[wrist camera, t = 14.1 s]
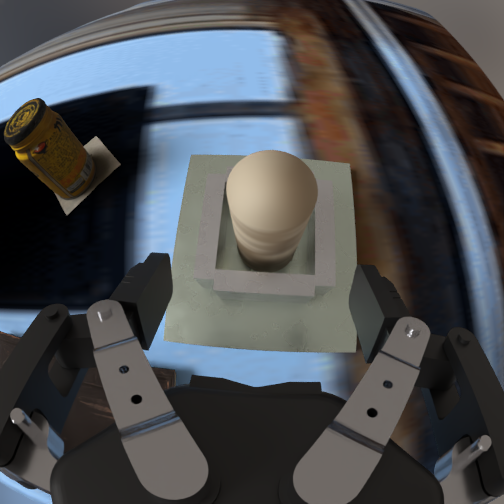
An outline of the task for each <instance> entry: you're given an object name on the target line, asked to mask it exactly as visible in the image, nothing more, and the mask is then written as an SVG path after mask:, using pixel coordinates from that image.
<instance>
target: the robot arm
mask: <svg viewBox="0 0 504 504" xmlns="http://www.w3.org/2000/svg"><path fill="white" fill-rule="evenodd" d="M172 294H173V280H172V272H171V264H170V257H169V254H168V253H153V252H152V253H150V255H149V256H148V257H147V259H146V260H145V262H144V263H138V264H137V265H135V266H134V267H132V268H131V269H130V270H129V272H128V273H127V274H126V277H124V279H123V280H122V283H120V284H119V286H118V287H117V288H116V290H115V291H114V293H113V294H112V295H111V297H110V298H109V300H103V301H99V302H97V303H95V304H93V305H92V306H91V307H90V308H89V309H88V311H87V314H78V315H70V314H69V311H68V309H67V307H66V306H65V305H62V304H53V305H50V306H47V307H46V308H44V309H43V310H42V311H41V312H40V313H39V314H38V315H37V317H36V318H35V320H34V321H33V322H32V324H31V325H30V326H29V328H28V329H27V331H26V332H25V333H24V335H23V336H22V338H21V339H20V340H19V342H18V343H17V345H16V346H15V348H14V349H13V351H12V352H11V354H10V355H9V357H8V358H7V360H6V362H5V363H4V365H3V366H2V368H1V369H0V471H1V472H2V473H3V474H5V475H6V476H8V477H9V478H10V479H12V480H15V481H16V482H18V483H19V484H21V485H22V486H24V487H26V488H28V489H37V488H38V489H40V490H42V491H44V492H46V493H48V494H50V495H51V498H52V503H53V504H488V503H489V502H491V501H493V500H495V499H496V498H498V497H500V496H501V495H503V494H504V391H503V389H502V387H501V385H500V383H499V381H498V379H497V377H496V375H495V373H494V371H493V369H492V367H491V365H490V363H489V361H488V359H487V357H486V355H485V353H484V351H483V349H482V348H481V346H480V344H479V342H478V340H477V339H476V337H475V336H474V335H473V334H472V333H471V332H470V331H468V330H466V329H464V328H460V327H455V328H452V329H451V330H450V331H449V333H448V335H447V337H444V336H439V335H434V334H430V330H429V328H428V326H427V325H426V324H425V323H424V322H422V321H421V320H419V319H417V318H413V317H411V315H410V314H409V312H408V310H407V308H406V306H405V304H404V303H403V301H402V299H401V297H400V295H399V294H398V293H397V290H396V288H395V287H394V285H393V283H391V282H390V281H389V280H388V279H387V278H385V277H381V275H380V274H379V272H378V270H377V268H376V267H375V266H374V265H357V267H356V269H355V274H354V278H353V282H352V286H351V290H350V294H349V309H350V312H351V316H352V319H353V322H354V325H355V328H356V331H357V335H358V338H359V341H360V344H361V348H362V351H363V355H364V358H365V361H366V363H372V364H371V366H370V367H369V369H368V371H367V372H366V374H365V375H364V377H363V378H362V380H361V382H360V383H359V385H358V386H357V388H356V389H355V391H354V392H353V394H352V395H351V397H350V398H349V400H348V401H346V400H344V399H342V398H340V397H338V396H336V395H333V394H330V393H327V392H323V391H321V383H320V382H286V383H281V384H275V385H269V386H263V387H252V386H248V385H245V384H241V383H238V382H234V381H231V380H227V379H224V378H216V377H206V376H198V375H192V377H191V380H190V384H184V385H178V386H174V387H171V388H168V389H166V390H164V391H163V390H162V388H161V386H160V384H159V382H158V380H157V378H156V376H155V374H154V372H153V370H152V368H151V366H150V364H149V362H148V360H147V358H146V356H145V354H144V352H143V350H149V348H150V346H151V343H152V341H153V339H154V336H155V334H156V332H157V329H158V327H159V325H160V322H161V320H162V318H163V316H164V313H165V311H166V309H167V307H168V304H169V302H170V300H171V298H172ZM142 349H143V350H142ZM54 355H55V357H56V360H55V362H54V364H53V366H52V368H51V369H50V371H49V373H48V367H49V364H50V362H51V360H52V359H53V357H54ZM95 367H97V368H98V371H99V375H100V378H101V381H102V384H103V388H104V391H105V394H106V397H107V400H108V403H109V405H110V408H111V411H112V414H113V416H114V419H115V423H113V424H111V425H110V426H108V427H107V428H105V429H104V430H102V431H100V432H99V433H97V434H96V435H94V436H92V437H91V438H89V439H88V440H86V441H84V442H83V443H81V444H79V445H78V446H76V447H75V448H73V449H71V450H70V451H68V452H66V453H65V454H64V453H63V451H64V442H63V439H62V437H61V436H60V435H61V432H62V430H63V427H64V424H65V422H66V419H67V417H68V414H69V412H70V410H71V407H72V405H73V402H74V400H75V398H76V395H77V393H78V391H79V389H80V386H81V384H82V382H83V380H84V377H85V375H86V373H87V371H88V369H89V368H95ZM456 380H457V381H458V383H459V386H460V389H461V397H459V395H458V392H457V389H456V387H455V384H454V383H455V381H456ZM414 386H416V387H421V390H422V393H423V396H424V399H425V403H426V406H427V410H428V413H429V417H430V421H431V424H432V428H433V432H434V436H435V440H436V444H437V448H438V453H439V457H440V458H439V459H438V461H437V463H436V465H435V474H434V475H433V474H432V473H431V472H430V471H429V470H427V469H426V468H425V467H424V466H422V465H421V464H420V463H419V462H417V461H416V460H415V459H414V458H413V457H411V456H410V455H409V454H408V453H407V452H405V451H404V450H403V449H402V448H401V447H400V446H398V445H397V444H396V443H395V442H394V441H392V440H391V439H390V436H391V434H392V432H393V430H394V428H395V426H396V424H397V422H398V420H399V418H400V416H401V414H402V412H403V410H404V407H405V405H406V403H407V401H408V399H409V396H410V394H411V392H412V389H413V387H414Z"/></svg>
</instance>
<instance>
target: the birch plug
mask: <svg viewBox="0 0 504 504" xmlns="http://www.w3.org/2000/svg"><path fill="white" fill-rule="evenodd" d="M226 192H227V198H228V204H229V209H230V214H231V219H232V224H233V228H234V233H235V238H236V243H237V248H238V252H239V255H240V257H241V259H242V260H243V262H244V263H245V264H246V265H247V266H248V267H250V268H251V269H253V270H256V271H258V272H268V273H270V272H275V271H278V270H280V269H282V268H284V267H285V266H286V265H287V264H288V263H289V262H290V261H291V260H292V258H293V256H294V254H295V251H296V249H297V247H298V244H299V242H300V240H301V238H302V235H303V233H304V231H305V228H306V226H307V224H308V221H309V219H310V216H311V214H312V212H313V209H314V207H315V204H316V202H317V197H318V186H317V182H316V179H315V176H314V174H313V173H312V171H311V170H310V168H309V167H308V166H307V165H306V164H305V163H304V162H303V161H302V160H300V159H299V158H297V157H296V156H294V155H291V154H289V153H286V152H282V151H276V150H265V151H259V152H256V153H253V154H250V155H248V156H246V157H245V158H243V159H242V160H240V161H239V162H238V163H237V164H236V165H235V166H234V168H233V169H232V171H231V173H230V174H229V177H228V180H227V186H226Z"/></svg>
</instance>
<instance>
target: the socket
mask: <svg viewBox="0 0 504 504" xmlns="http://www.w3.org/2000/svg"><path fill="white" fill-rule="evenodd" d="M245 157H246V156H241V155H191V158H190V163H189V168H188V173H187V178H186V183H185V188H184V194H183V199H182V205H181V210H180V216H179V222H178V228H177V234H176V241H175V247H174V254H173V261H172V269H171V272H172V280H173V294H172V298H171V300H170V302H169V304H168V307H167V310H166V320H165V330H164V341H170V342H178V343H186V344H194V345H203V346H213V347H224V348H235V349H249V350H265V351H286V352H356V339H357V331H356V328H355V325H354V322H353V319H352V316H351V312H350V309H349V294H350V290H351V286H352V282H353V278H354V274H355V269H356V267H357V253H356V231H355V216H354V202H353V191H352V180H351V171H350V164H347V163H338V162H329V161H319V160H308V159H300V160H302V161H303V162H304V163H305V164H306V165H307V166H308V167H309V168H310V170H311V171H312V173H313V174H314V176H315V179H316V182H317V186H318V197H317V202H316V204H315V207H314V209H313V212H312V214H311V216H310V219H309V221H308V224H307V226H306V228H305V231H304V233H303V235H302V238H301V240H300V242H299V244H298V247H297V249H296V251H295V254H294V256H293V258H292V260H291V261H290V262H289V263H288V264H287V265H286V266H285V267H284V268H282V269H280V270H278V271H275V272H270V273H268V272H258V271H256V270H253V269H251V268H250V267H248V266H247V265H246V264H245V263H244V262H243V260H242V259H241V257H240V255H239V252H238V248H237V243H236V238H235V233H234V228H233V224H232V219H231V214H230V209H229V204H228V198H227V192H226V186H227V180H228V177H229V174H230V173H231V171H232V169H233V168H234V166H235V165H236V164H237V163H238V162H239V161H240V160H242V159H243V158H245Z"/></svg>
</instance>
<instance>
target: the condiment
mask: <svg viewBox="0 0 504 504" xmlns="http://www.w3.org/2000/svg"><path fill="white" fill-rule="evenodd" d="M4 139H5V141H6V142H7V143H8V144H9V145H10V146H11V147H12V149H13V150H14V151H15V152H16V156H17V158H18V159H19V160H20V162H21V163H23V165H25V166H26V167H27V168H28V169H29V170H30V171H31V172H33V173H34V174H35V175H36V176H37V177H38V178H39V179H40V180H41V181H42V182H43V183H45V184H46V185H47V186H48V187H49V188H50V189H52V190H53V192H54V193H55V195H56V197H57V199H58V200H59V202H60V204H61V206H62V208H63V210H64V212H65V213H66V215H68V214H69V213H70V212H71V211H72V210H73V209H74V208H75V207H76V206H77V205H79V203H80V202H81V201H83V200H84V199H85V198H86V197H87V195H89V194H90V193H91V192H92V191H93V190H94V189H95V188H96V186H97V185H98V184H99V183H101V182H102V181H103V180H104V179H105V178H107V177H108V176H109V175H110V174H111V173H112V172H113V170H115V169H116V168H117V167H118V166H119V165H121V164H120V163H119V162H118V161H117V159H116V158H115V157H114V156H113V155H112V154H111V153H110V151H109V150H108V149H107V148H106V147H105V146H104V144H103V143H102V142H101V141H100V140H99V138H98V137H97V136H96V137H94V138H93V139H92V140H91V141H90V142H89V143H87V144H86V145H85V146H84V147H83V145H82V144H81V143H80V142H79V140H78V139H77V138H76V137H75V135H74V134H73V132H71V130H70V129H69V128H68V126H67V125H66V124H65V122H64V121H63V119H62V118H61V116H60V115H58V114H57V113H55V112H53V111H52V110H51V109H50V108H49V107H48V106H47V105H46V104H45V102H44V101H43V100H42V99H40V98H36V99H33V100H30V101H28V102H26V103H25V104H24V105H22V106H21V107H20V108H19V109H18V110H17V111H16V112H15V113H14V114H13V115H12V117H11V118H10V120H9V122H8V123H7V125H6V127H5V131H4ZM91 154H92V155H91ZM90 155H91V156H90ZM96 177H97V178H96Z"/></svg>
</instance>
